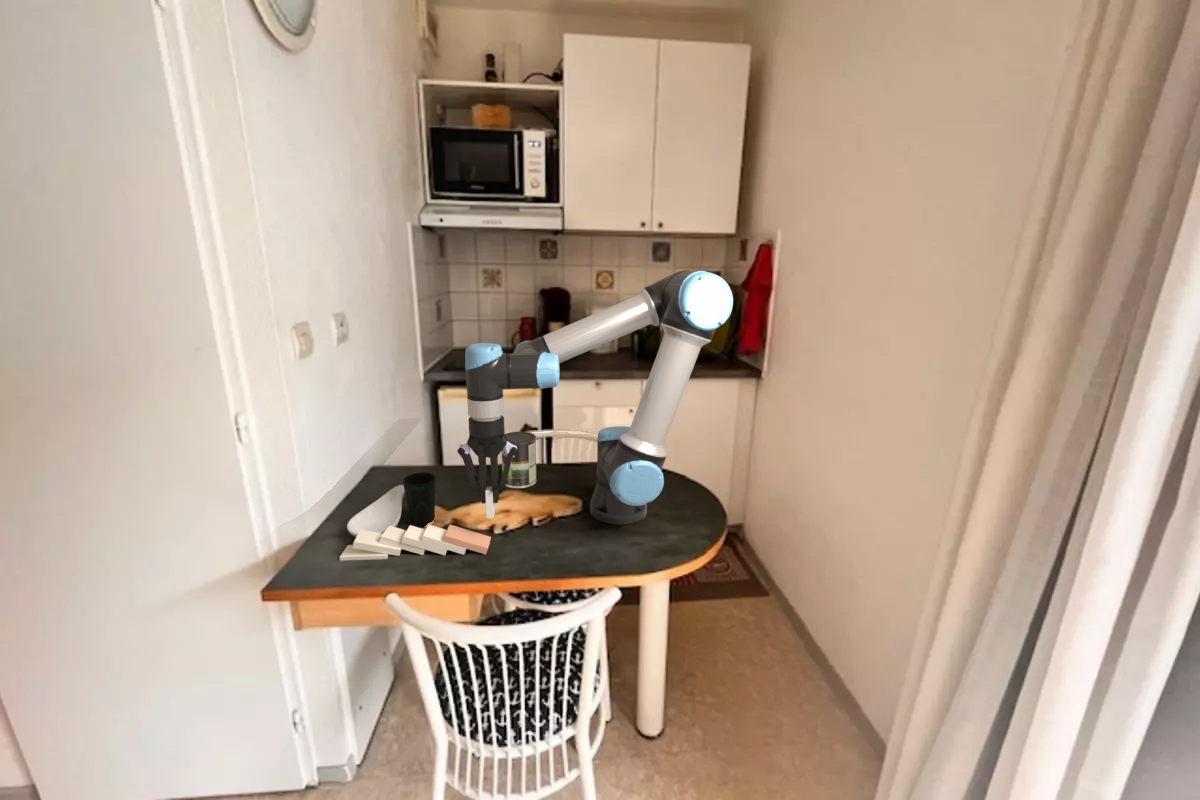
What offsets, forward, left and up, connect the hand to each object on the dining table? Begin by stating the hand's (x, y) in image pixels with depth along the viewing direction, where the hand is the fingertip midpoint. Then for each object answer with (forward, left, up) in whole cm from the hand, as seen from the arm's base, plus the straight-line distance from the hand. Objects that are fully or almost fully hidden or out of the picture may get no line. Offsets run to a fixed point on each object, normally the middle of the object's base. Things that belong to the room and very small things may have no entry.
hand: (490, 515), depth 118 cm
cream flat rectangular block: (+23, +1, -8) cm, 24 cm away
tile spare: (+1, 0, -8) cm, 8 cm away
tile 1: (+6, 0, -8) cm, 9 cm away
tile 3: (+15, 0, -8) cm, 17 cm away
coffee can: (-3, -37, -9) cm, 38 cm away
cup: (+19, -13, -9) cm, 25 cm away
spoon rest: (+27, -14, -9) cm, 32 cm away
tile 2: (+10, 0, -8) cm, 13 cm away
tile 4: (+20, 0, -8) cm, 22 cm away
